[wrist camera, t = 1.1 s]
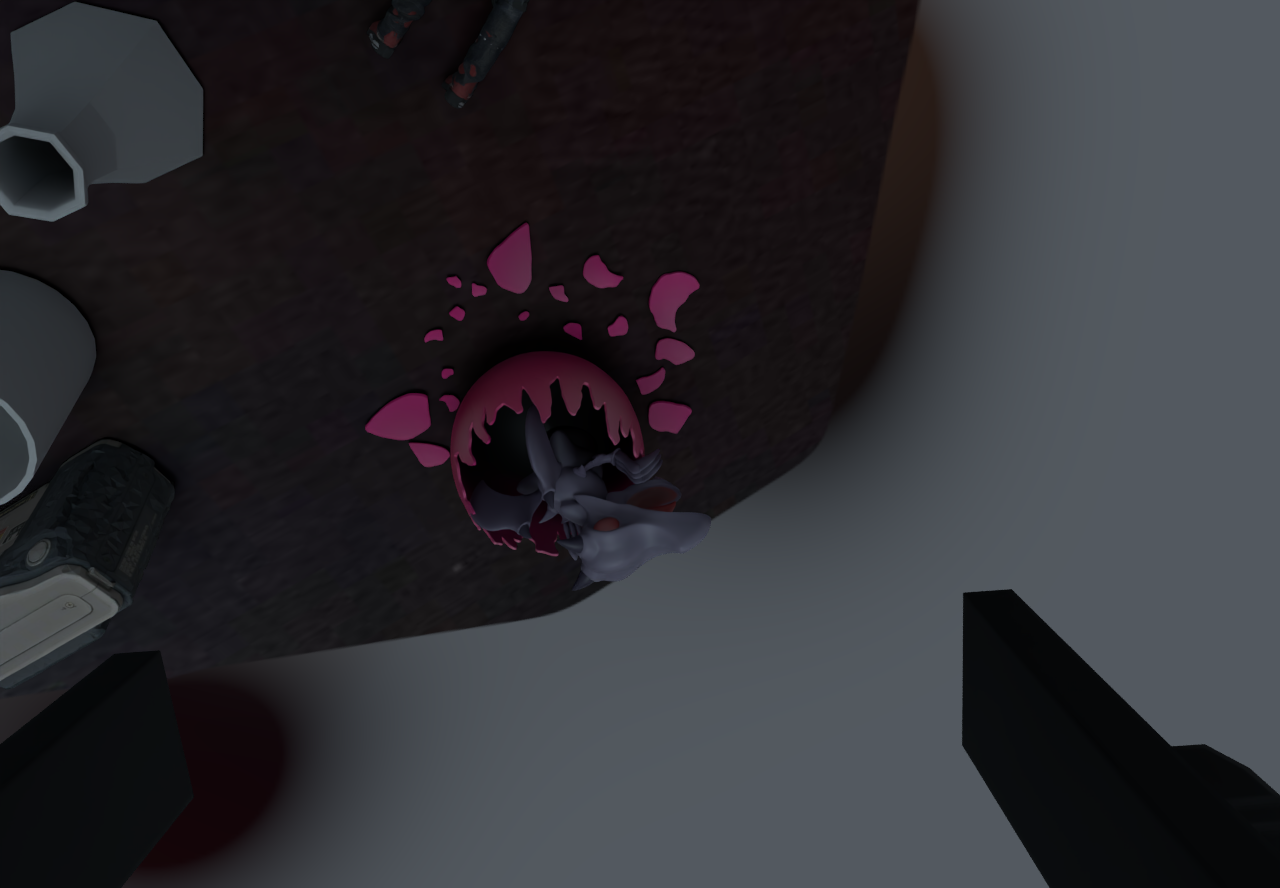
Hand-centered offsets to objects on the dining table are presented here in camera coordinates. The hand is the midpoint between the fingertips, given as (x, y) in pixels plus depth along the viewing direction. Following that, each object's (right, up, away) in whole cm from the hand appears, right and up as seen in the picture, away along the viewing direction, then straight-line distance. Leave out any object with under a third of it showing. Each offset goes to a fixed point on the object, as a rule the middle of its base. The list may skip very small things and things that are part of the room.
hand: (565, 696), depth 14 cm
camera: (-30, +1, +33) cm, 45 cm away
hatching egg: (-4, +7, +35) cm, 36 cm away
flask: (-21, +19, +22) cm, 36 cm away
